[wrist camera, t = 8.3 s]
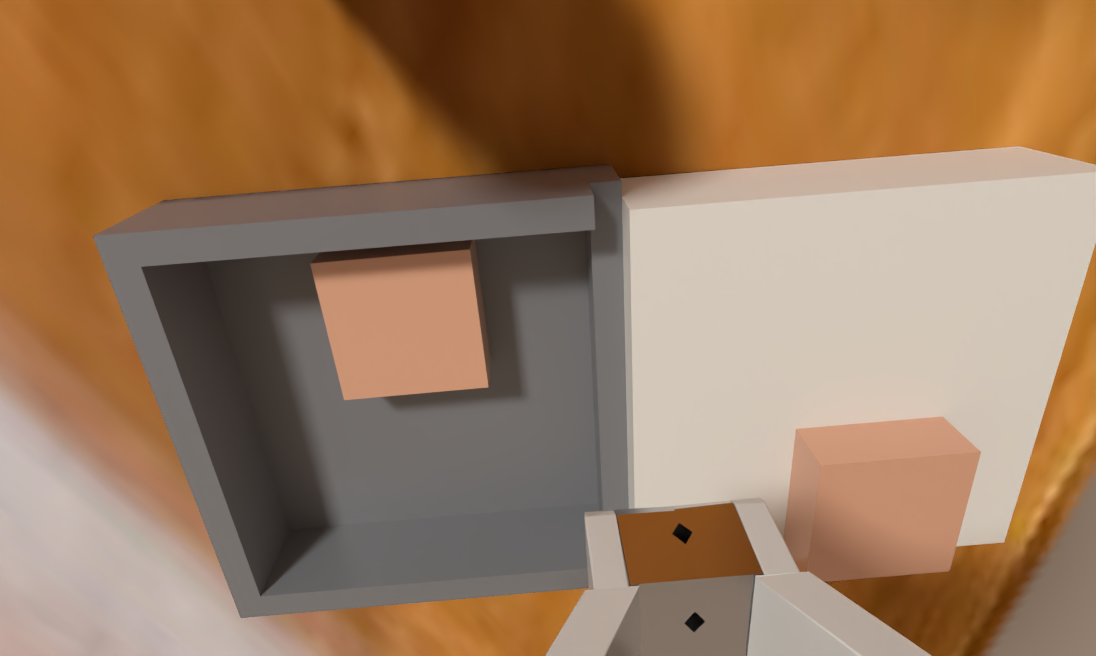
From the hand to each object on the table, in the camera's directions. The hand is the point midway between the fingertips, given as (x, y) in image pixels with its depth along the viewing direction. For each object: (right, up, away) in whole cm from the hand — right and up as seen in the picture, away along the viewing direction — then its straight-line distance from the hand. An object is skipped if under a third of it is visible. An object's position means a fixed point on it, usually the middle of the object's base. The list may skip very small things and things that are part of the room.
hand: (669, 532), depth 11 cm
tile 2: (+9, -2, +12) cm, 15 cm away
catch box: (-7, +2, +14) cm, 16 cm away
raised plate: (+8, +3, +14) cm, 16 cm away
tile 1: (-7, +3, +10) cm, 13 cm away
